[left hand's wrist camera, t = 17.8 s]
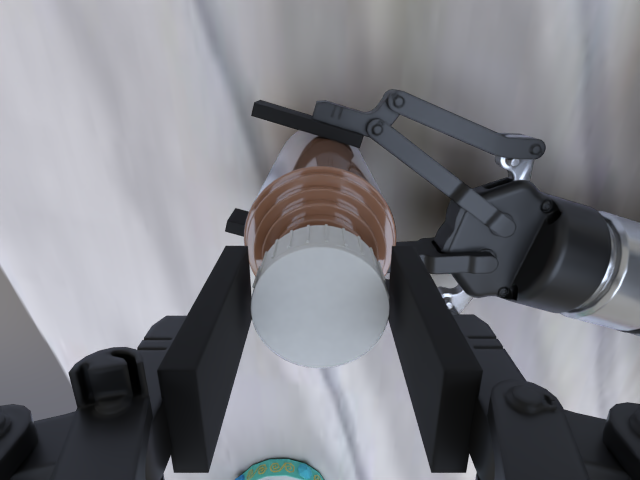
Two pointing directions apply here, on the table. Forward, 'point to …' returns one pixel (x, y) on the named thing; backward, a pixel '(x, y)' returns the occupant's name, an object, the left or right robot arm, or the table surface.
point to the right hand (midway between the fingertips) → (243, 166)
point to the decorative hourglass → (280, 471)
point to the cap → (320, 297)
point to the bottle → (319, 198)
